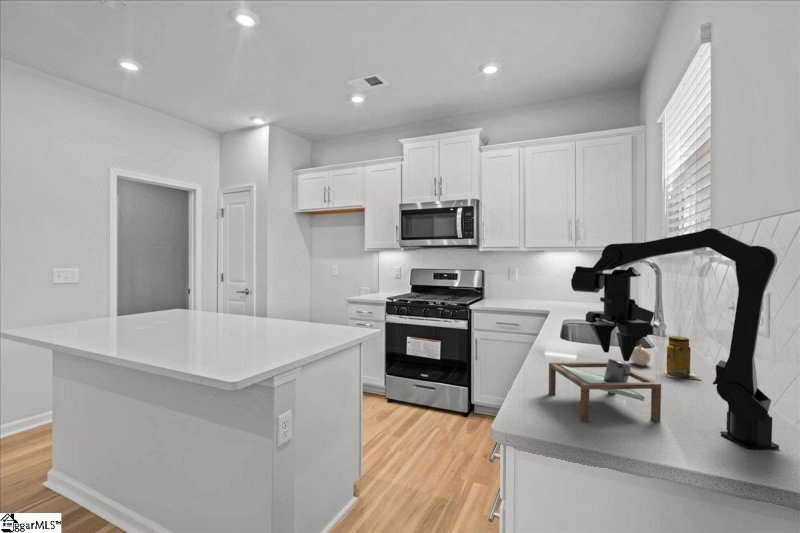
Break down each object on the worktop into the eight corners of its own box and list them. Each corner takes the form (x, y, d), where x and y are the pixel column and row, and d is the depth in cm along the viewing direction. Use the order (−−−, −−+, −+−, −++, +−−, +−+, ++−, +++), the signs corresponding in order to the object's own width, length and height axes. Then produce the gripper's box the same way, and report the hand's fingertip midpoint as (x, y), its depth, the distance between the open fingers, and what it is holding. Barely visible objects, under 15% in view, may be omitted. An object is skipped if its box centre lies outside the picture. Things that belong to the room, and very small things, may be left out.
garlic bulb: (625, 363, 133) (625, 340, 133) (636, 361, 136) (637, 339, 136) (644, 368, 127) (644, 344, 127) (656, 366, 130) (656, 343, 130)
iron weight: (630, 389, 93) (635, 367, 93) (611, 384, 93) (616, 362, 93) (617, 382, 98) (622, 361, 98) (599, 378, 98) (604, 357, 98)
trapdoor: (643, 401, 88) (644, 396, 88) (587, 386, 88) (588, 382, 88) (608, 381, 102) (609, 377, 102) (559, 368, 102) (560, 364, 102)
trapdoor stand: (660, 421, 87) (661, 384, 86) (583, 422, 86) (583, 385, 86) (612, 392, 105) (613, 362, 104) (548, 393, 104) (549, 362, 104)
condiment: (662, 370, 125) (663, 334, 125) (694, 374, 122) (695, 336, 121) (668, 377, 118) (669, 339, 118) (701, 381, 115) (702, 341, 115)
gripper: (677, 298, 86) (675, 367, 86) (624, 290, 104) (623, 347, 105) (629, 298, 85) (627, 367, 86) (585, 290, 104) (584, 347, 104)
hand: (615, 356), depth 95 cm, fingers open, 8 cm apart
